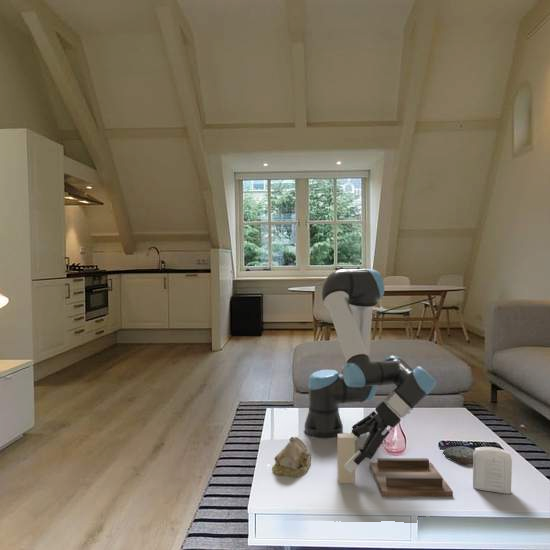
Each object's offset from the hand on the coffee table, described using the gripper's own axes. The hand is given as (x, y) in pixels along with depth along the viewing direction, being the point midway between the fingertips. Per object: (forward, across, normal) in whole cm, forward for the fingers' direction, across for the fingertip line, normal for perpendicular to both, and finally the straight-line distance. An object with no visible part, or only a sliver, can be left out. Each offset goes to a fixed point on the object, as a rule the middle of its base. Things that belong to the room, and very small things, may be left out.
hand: (343, 459), depth 134 cm
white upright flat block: (-25, -5, -36) cm, 44 cm away
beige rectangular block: (+4, 0, -6) cm, 7 cm away
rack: (-9, 0, -19) cm, 21 cm away
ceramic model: (+16, +10, +6) cm, 19 cm away
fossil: (-25, +16, -36) cm, 47 cm away
